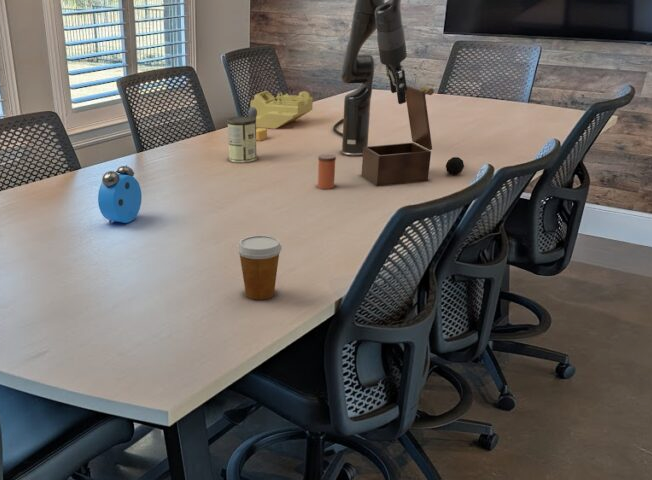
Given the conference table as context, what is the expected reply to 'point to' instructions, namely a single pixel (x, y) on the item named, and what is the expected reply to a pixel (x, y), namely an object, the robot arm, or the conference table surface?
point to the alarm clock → (119, 195)
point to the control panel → (280, 108)
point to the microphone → (454, 166)
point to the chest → (395, 164)
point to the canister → (326, 171)
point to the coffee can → (242, 139)
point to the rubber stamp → (260, 132)
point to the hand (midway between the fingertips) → (398, 97)
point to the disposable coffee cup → (259, 265)
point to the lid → (419, 115)
